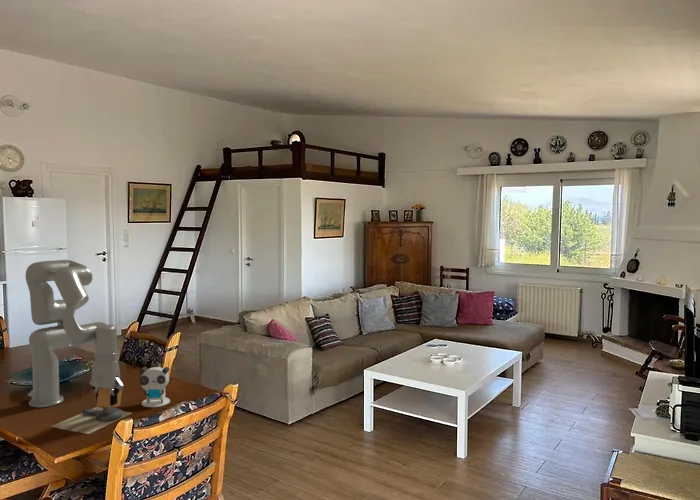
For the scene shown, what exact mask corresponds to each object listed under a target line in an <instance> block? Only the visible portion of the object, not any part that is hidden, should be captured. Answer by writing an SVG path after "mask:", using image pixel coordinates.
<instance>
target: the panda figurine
mask: <svg viewBox="0 0 700 500" xmlns="http://www.w3.org/2000/svg"><path fill="white" fill-rule="evenodd" d="M169 371H170V367H169V366H166V367H160V366H159V367H158V366H157V367H156V366H154V367H150V368H148V367H147V366H143V367H142V368H140V369H139V371H138V374H139V375H140V376H141V377H140V378H139V384H140V386H141V387H142V389H144V391H143V394H144V395H145V396H146V399H144V400H143V401H142V402H141V406H143V407H145V408H146V407H147V408H159V407H163V406H166V405H169V404H170V403H171V400H170V399H171V398H169V397H166V387H167V386H168V385H169V382H170V376H169Z"/></svg>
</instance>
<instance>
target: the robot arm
mask: <svg viewBox="0 0 700 500" xmlns="http://www.w3.org/2000/svg"><path fill="white" fill-rule="evenodd" d="M25 281H26V285H27V288H28V291H29V297H30V298H29V299H30V312H31V313H30V314H31V321H32V322H33V323H34V324H35V325H37V326H46V325H51V324H57V325H54V326H53V325H52V326H47V327H42V328H38V329H36V330H34V331H33V332H31V334H30V335H29V337H28V344H29V348H30V353H31V359H32V362H31V364H32V365H31V367H32V390H30V392H28V393H27V396H28V397H31V399H30V400H29V402H28V405H29V407H31V408H48V407H52V406H56V405H59V404H61V403H63V401H64V396H63V395H60V370H59V369H60V366H59V363H60V362H59V358H58V356H57V354H56V353H55V352H54V350H56V349H61V348H65V347H68V346H71V345H72V344H74V345H75V346H83V345H89V344H92V343H95V344H94V345H95V347H94V348H95V349H94V350H95V353H94V355H93V357H94V358H95V360H93V363H92V370H91V380H90V381H89V384H90V385H91V387H92V389H93V390H94V394H95V398H96V399H95V403H96V404H97V397H98V391H99V388H105V389H110V392H111V395H110V405H111V406H112V405H115V404H117V402H118V400H117V394H118V393H119V392H120V390H121V389H122V390H123V388H124V387H125V385H124V384H123V382H122V381H121V371H120V365H119V360H118V349H117V347H118V343H117V341H118V340H117V336H118V335H117V331H118V329H117V327H116V326H115V325H113V324H106V323H105V322H101V321H96V322H92V323H91V322H90V323H84V324H79V323H78V321H77V318H76V311H78V310H79V309H80V308H81V307H84V306H85V305H86V304H87V303H88V302H89V299H90V298H89V295H88V293H87V292H86V289H85V287H86V286H89V285H90V284H91V283H92V281H93V273H92V271H91V270H90V268H89V267H87V266H86V265H84V264H81V263H79V262H76V261H74V260H71V259H57V260H42V261H41V260H40V261H36V262H33V263H31V264H30V265H28V267H27V268H26V271H25ZM49 282H54V283H55V285H56V287H57V289H58V291H59V293H60V295H61V299H56V300H55V297H54V294H55V292H54V290H53V288H52V286H51V285H50V284H49ZM84 286H85V287H84ZM113 388H114V389H115V391H114V389H113Z"/></svg>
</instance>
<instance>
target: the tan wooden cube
mask: <svg viewBox="0 0 700 500" xmlns="http://www.w3.org/2000/svg"><path fill="white" fill-rule="evenodd" d="M113 389H114V388H113ZM114 391H115V389H114ZM110 395H111V392H110V389H105V388H99V391H98V397H97V403H96V407H101V408H103V407H108V408H110V407H115V408H117V407H120V406H121V403H122V402H121V401H122V395H123V388H122V389H121V390H120V392H119V393H118V394H117V400H118V402H117V404H115V405H112V406H111V405H110Z"/></svg>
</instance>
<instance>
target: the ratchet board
mask: <svg viewBox="0 0 700 500" xmlns="http://www.w3.org/2000/svg"><path fill="white" fill-rule="evenodd" d="M132 414H133V412H130V411H125V410H122V409H121V408H118V407H110V408H108V407H101V406H96V407H93V408H84V409H82V413H80V414H77V415H75V416H71V417H70V418H68V419H64V420H62V421H59V422H58V423H55V424H54V425H51V426H50V428H54V429H58V430H59V429H60V430H64V431H70V432H75V433H81V434H84V435H85V434H87V435H89V434H92V433H94V432H95V431H96V432H97V431H98V430H100V429H102V428H104V427H106V426H108V425H111V424H113V423H114V422H115V423H116V422H117V421H119V420H121V419H124V418H126V417H127V416H129V415H132Z"/></svg>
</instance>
